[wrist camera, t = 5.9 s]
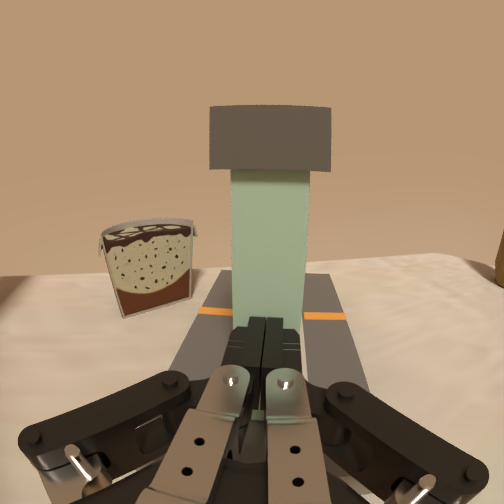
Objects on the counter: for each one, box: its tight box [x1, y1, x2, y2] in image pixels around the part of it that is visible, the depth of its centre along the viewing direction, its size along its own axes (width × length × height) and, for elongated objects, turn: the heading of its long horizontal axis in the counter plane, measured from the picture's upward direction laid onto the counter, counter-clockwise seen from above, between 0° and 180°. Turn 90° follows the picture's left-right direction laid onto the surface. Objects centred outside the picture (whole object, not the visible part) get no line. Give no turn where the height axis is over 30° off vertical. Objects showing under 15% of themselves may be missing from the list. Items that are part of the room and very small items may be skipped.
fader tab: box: [210, 105, 331, 421], centre depth 14 cm, size 4×5×16 cm
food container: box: [99, 218, 197, 319], centre depth 35 cm, size 12×6×10 cm, turn 130°
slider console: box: [136, 270, 372, 495], centre depth 25 cm, size 14×28×4 cm, turn 174°
